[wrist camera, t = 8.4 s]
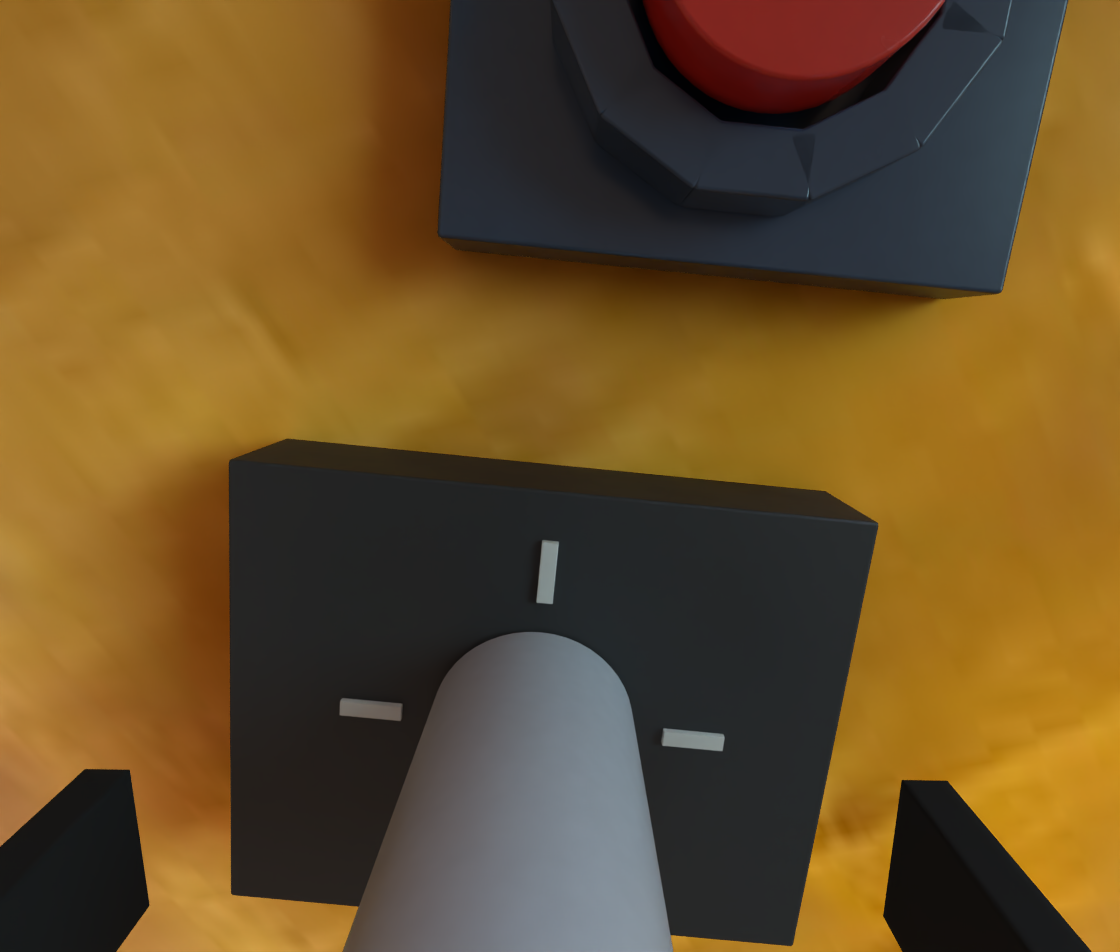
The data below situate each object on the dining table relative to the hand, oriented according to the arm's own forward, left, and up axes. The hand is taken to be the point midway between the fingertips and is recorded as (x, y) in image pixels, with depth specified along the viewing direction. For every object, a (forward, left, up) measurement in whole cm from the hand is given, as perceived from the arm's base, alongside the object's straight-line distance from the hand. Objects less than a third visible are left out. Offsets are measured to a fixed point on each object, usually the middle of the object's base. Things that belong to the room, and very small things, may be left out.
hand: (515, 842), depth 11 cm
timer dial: (0, 0, -4) cm, 4 cm away
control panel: (0, 0, -7) cm, 7 cm away
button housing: (+3, +15, -7) cm, 17 cm away
